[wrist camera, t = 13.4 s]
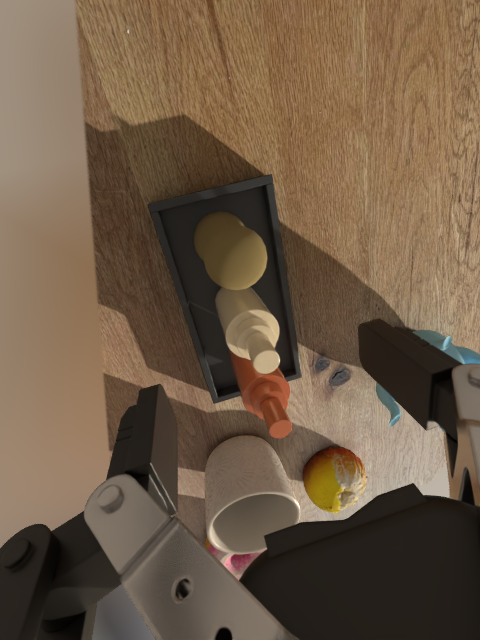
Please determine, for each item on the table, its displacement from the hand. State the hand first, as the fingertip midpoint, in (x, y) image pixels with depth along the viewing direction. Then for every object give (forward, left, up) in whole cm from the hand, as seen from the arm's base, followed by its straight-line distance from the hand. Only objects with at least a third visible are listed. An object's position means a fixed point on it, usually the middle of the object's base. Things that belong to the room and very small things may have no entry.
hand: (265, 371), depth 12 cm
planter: (+25, -21, -25) cm, 41 cm away
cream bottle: (+6, -2, -24) cm, 25 cm away
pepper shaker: (0, +2, -24) cm, 24 cm away
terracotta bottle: (+13, -6, -24) cm, 27 cm away
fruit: (+41, -14, -25) cm, 50 cm away
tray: (+6, -2, -24) cm, 25 cm away
